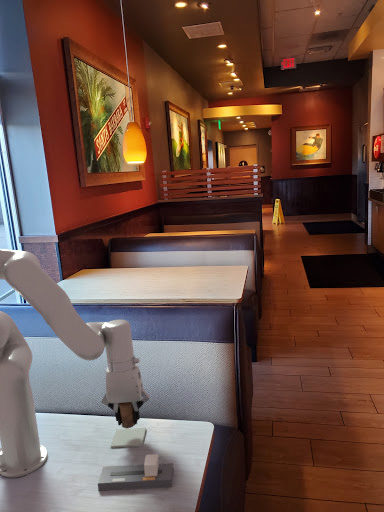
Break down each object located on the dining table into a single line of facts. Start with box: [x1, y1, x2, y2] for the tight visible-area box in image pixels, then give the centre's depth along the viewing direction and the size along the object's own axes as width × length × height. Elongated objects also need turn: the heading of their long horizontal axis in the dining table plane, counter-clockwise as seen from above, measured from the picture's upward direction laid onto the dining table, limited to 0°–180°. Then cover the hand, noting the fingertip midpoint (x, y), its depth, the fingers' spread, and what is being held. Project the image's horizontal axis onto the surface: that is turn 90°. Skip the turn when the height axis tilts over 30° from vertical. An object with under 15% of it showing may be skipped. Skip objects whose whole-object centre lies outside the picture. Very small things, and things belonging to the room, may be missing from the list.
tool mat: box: [110, 427, 147, 449], centre depth 119 cm, size 9×8×1 cm
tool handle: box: [119, 402, 136, 429], centre depth 117 cm, size 4×4×9 cm
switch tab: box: [144, 453, 160, 477], centre depth 101 cm, size 3×4×3 cm
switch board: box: [97, 462, 174, 492], centre depth 101 cm, size 18×6×2 cm, turn 89°
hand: (128, 421), depth 118 cm, fingers closed on tool handle, 4 cm apart
